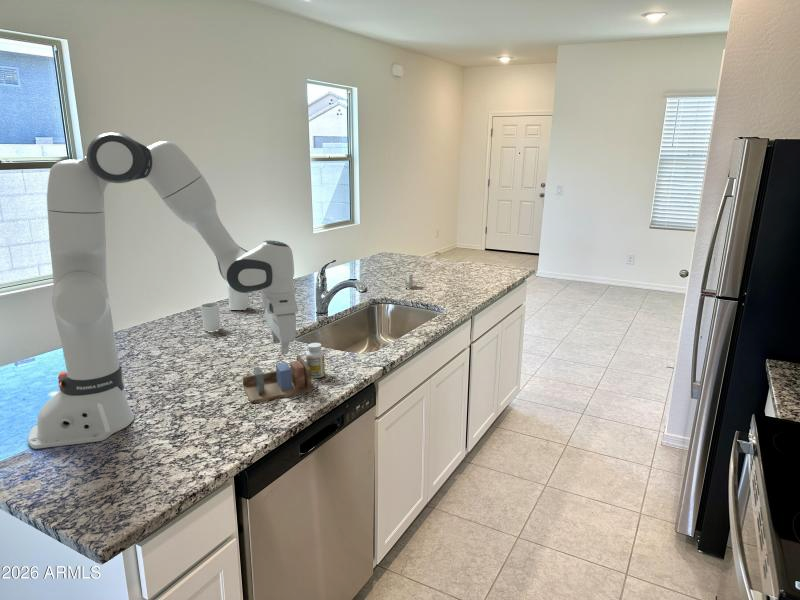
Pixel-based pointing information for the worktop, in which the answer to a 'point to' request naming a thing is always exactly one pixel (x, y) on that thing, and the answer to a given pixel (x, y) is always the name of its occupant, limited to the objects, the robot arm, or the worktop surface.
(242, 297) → the pill bottle
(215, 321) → the drinking glass
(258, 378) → the bookend
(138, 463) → the worktop surface
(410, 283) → the architectural model
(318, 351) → the supplement bottle
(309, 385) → the rack
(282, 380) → the blue block
